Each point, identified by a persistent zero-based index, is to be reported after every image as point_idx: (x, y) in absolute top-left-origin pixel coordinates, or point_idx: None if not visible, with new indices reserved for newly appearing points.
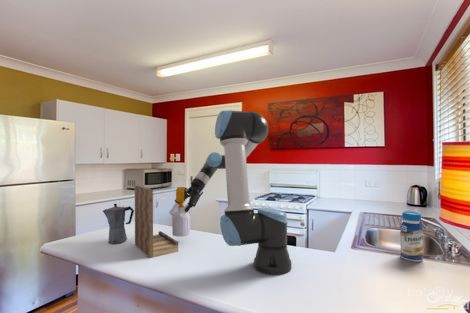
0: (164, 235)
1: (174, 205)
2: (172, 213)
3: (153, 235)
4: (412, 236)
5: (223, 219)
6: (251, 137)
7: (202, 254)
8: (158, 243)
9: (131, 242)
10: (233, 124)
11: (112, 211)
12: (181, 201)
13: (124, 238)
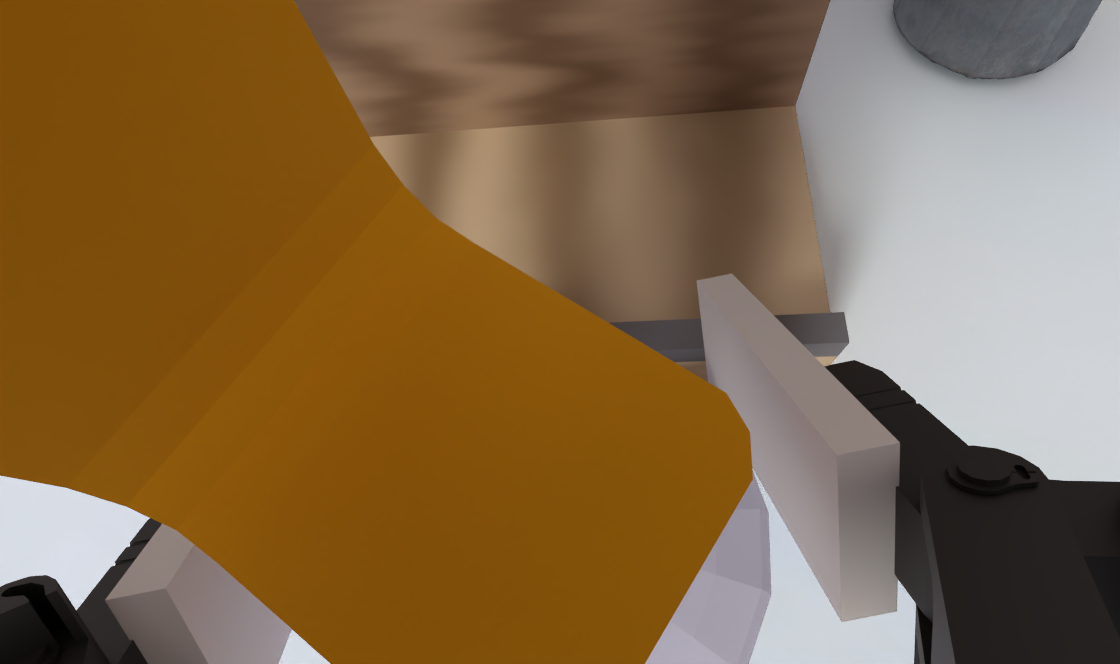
0: (620, 322)
1: (816, 376)
2: (713, 364)
3: (817, 263)
4: None
5: None
6: None
7: (77, 565)
8: (483, 228)
9: (875, 110)
10: None
11: None
12: (266, 400)
13: (934, 31)
